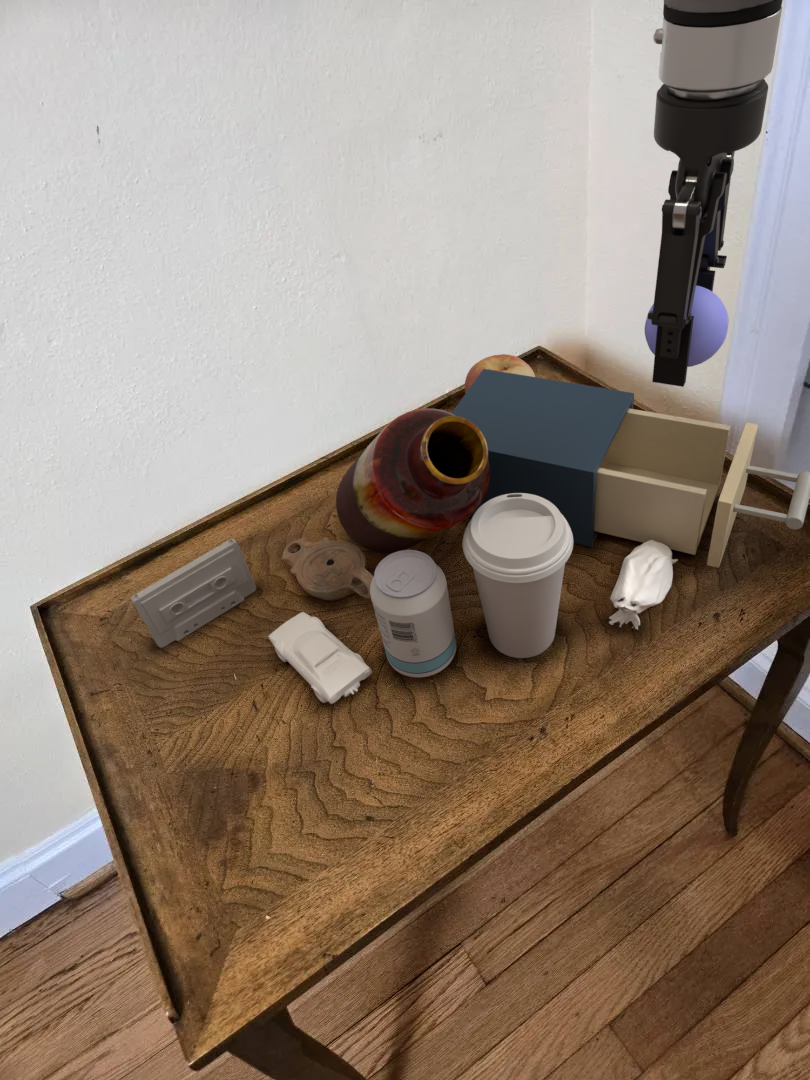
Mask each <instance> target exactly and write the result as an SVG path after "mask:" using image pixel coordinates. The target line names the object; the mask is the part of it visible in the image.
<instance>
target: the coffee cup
mask: <svg viewBox="0 0 810 1080" xmlns="http://www.w3.org/2000/svg"><path fill="white" fill-rule="evenodd" d="M462 537H463V538H462V551H463V554H464V558H465V559H466V560H467V562H468V564H469V565H470V566H471V567H472V569H473V574H474V579H475V582H476V583H475V584H476V587H477V591H478V595H479V600H480V603H481V608H482V613H483V616H484V620H485V624H486V630H487V634H488V637H489V641H490V642H491V644H492V646H493V647H494V648H495V649H496V650H497V651H498V652H499V653H501V654H504V655H505V656H507V657H510V658H514V659H528V658H533V657H536V656H538V655H541V654H542V653H544V652H545V651H546V650H548V649H549V648H550V647H551V646H552V643H553V641H554V639H555V636H556V629H557V624H558V623H557V621H558V617H559V616H558V615H559V608H560V602H561V594H562V587H563V581H564V574H565V566H566V563H567V562H568V561H569V559H570V557H571V555H572V552H573V549H574V543H573V542H574V541H573V534H572V531H571V528H570V526H569V524H568V522H567V521H566V519H565V518H564V516H563V515H562V514H561V513H560V511H559V510H558V509H557V507H556V506H555V505H554V504H552V503H551V502H550V501H548V500H546V499H544V498H542V497H539V496H536V495H533V494H527V493H511V494H505V495H501V496H498V497H495V498H493V499H491V500H489V501H487V502H486V503H484V504H483V505H482V506H480V507H479V508H478V510H477V511H476V512H475V514H474V515H473V517H472V518H471V519H470V520H469V522H468V524H467V526H466V527H465V530H464V534H463V536H462Z"/></svg>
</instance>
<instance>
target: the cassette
mask: <svg viewBox="0 0 810 1080" xmlns="http://www.w3.org/2000/svg"><path fill="white" fill-rule="evenodd" d="M240 547H241V546H240V544H239V543H238V542H237V541H236V539H235V538H230V539H228V540H226V541H224V542H223V543H221V544H220V545H218V546H215V547H214V548H211V550H209V551H206V553H204V554H202V555H200V556H199V557H197V558H195V559H193V560H192V561H190V562H188V563H187V564H185V565H182V566H181V567H180V568H178V569H176V570H174V571H172V572H171V573H169V574H168V575H166V576H164V577H162V578H161V579H159V580H157V581H155V582H153V583H152V584H150V585H149V586H147V587H145V588H143V589H142V590H140V591H138V592H137V593H135V594H133V595H131V597H130V601H131V602H132V604H133V606H134V608H135V609H136V611H137V613H138V615H139V616H140V618H141V619H142V621H143V623H144V624H145V627H146V628H147V629H148V632H149V633H150V636H151V638H152V639H153V641H154V643H155V644H156V646H157V647H159V648H160V649H162V648H165V647H167V646H168V645H170V644H171V643H173V642H174V641H177V642H179V641H180V640H183V638H185V637H187V636H188V635H191V634H192V633H194V632H195V631H196V630H198V629H200V628H201V627H203V626H205V625H206V624H208V623H210V622H212V621H213V620H214V619H216V618H218V617H219V616H221V615H223V614H225V613H226V612H228V611H229V610H230V609H232V608H235V607H236V606H237V605H239V604H241V603H242V602H244V601H245V598H246V597H249V595H251V594H253V593H254V592H256V591H257V586H256V582H255V581H254V577H253V576H252V574H251V571H250V569H249V566H248V564H247V561H246V559H245V557H244V554H243V552H242V549H241V548H240Z"/></svg>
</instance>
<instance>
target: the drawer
mask: <svg viewBox="0 0 810 1080" xmlns="http://www.w3.org/2000/svg"><path fill="white" fill-rule="evenodd" d="M758 427H759V424H758V423H752V422H745V423H744V426H743V429H742V433H741V435H740V438H739V440H738V443H737V447H736V449H735V452H734V455H733V458H732V460H731V464H730V466H729V468H728V472H727V475H726V478H725V480H724V483H723V486H722V489H721V492H720V495H719V497H718V501H717V505H716V510H715V511H716V512H715V517H714V522H713V528H712V532H711V533H712V534H711V537H710V543H709V544H710V545H709V550H708V555H707V560H706V566H708V567H709V566H710V567H713V568H717V569H720V566H721V564H722V563H721V562H722V560H723V558H724V554H725V551H726V549H727V545H728V542H729V539H730V536H731V532H732V529H733V526H734V523H735V520H736V517H737V514H738V513H739V514H743V515H748V516H752V517H756V518H757V517H758V518H761V519H762V518H763V519H766V520H771V521H776V522H781V523H785V525H786V527H787V528H789V529H791V530H800V529H801V528H803V526H804V522H805V518H806V515H807V511H808V508H809V507H808V506H809V502H810V471H807V470H805V471H804V470H803V471H801V472H799V473H798V474H796V473H792V472H787V471H782V470H775V469H770V468H765V467H760V466H755V465H751V462H752V456H753V452H754V447H755V443H756V437H757V433H758V429H759V428H758ZM730 432H731V425H729V424H722V423H718V422H712V421H706V420H700V419H693V418H688V417H683V416H676V415H670V414H664V413H658V412H651V411H648V410H647V411H646V410H640V409H636V408H635V409H634V408H633V409H630V408H629V410H628V411H627V413H626V415H625V417H624V419H623V421H622V423H621V425H620V427H619V429H618V431H617V433H616V435H615V437H614V439H613V441H612V443H611V445H610V447H609V449H608V451H607V453H606V455H605V457H604V459H603V461H602V463H601V465H600V467H599V469H598V471H597V473H596V498H595V528H594V531H597V532H599V533H601V534H606V535H610V536H613V537H618V538H621V539H622V538H623V539H626V540H631V541H634V542H639V543H642V544H643V543H645V542H647V541H650V540H654V541H656V542H660V543H662V544H664V545H666V546H668V547H669V548H670V550H671V551H672V550H673V551H677V552H681V553H686V554H689V555H693V556H695V555H696V554H697V552H698V548H699V546H700V543H701V540H702V537H703V534H704V531H705V529H706V526H707V523H708V521H709V518H710V515H711V512H712V510H713V506H714V504H715V500H716V498H717V495H718V493H719V490H720V486H721V482H722V475H723V471H724V464H725V460H726V454H727V448H728V444H729V443H728V442H729V437H730ZM749 474H750V475H756V476H761V477H765V478H771V479H777V480H781V481H787V482H792V483H795V484H794V490H793V492H792V497H791V501H790V504H789V507H788V511H787V513H782V512H777V511H773V510H768V509H763V508H758V507H754V506H748V505H745V504H741V502H742V499H743V496H744V493H745V490H746V485H747V481H748V476H749Z"/></svg>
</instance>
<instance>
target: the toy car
mask: <svg viewBox="0 0 810 1080" xmlns="http://www.w3.org/2000/svg"><path fill="white" fill-rule="evenodd" d="M268 639H269V641H270V643H271V644H272V646H273V648H274V652H275V653H276V655H277V656H278V658H279V659H280V660H281V661H282V662H283V663H287V662H288V663H289V665H290V666H292V667H293V669H295V671H296V672H297V673H298V674H299V675H300V676H301V677H302V678H303V679H304V680H305V681H306V682H307V683H308V684H309V685H310V688H311V689H312V690H313V693H314V695H315V697H316V698H317V699H318V700H319V701H320V702H321V703H323V704H325V703H329V704H330V705H333V704H335V703H336V702H337V701H338V700H340V699H341V698H342V697H343V698H347V697H349V696H350V695H355V692H356V693H357V692H359V688H360V686H361V683H360V682H361V681H364V680H366V679H367V678H368V677H369V676H370V675H372V673H373V670H372V668H371V667H370V666H369V665H368V664H366V662H365V660H364V659H363V658H362V656H361V655H360V654H359V653H355V652H353V651H352V650H351V649H350V648H349V647H347V645H346V644H345V643H343V642H342V641H341V640H340V639H339V638H338V637H336V636H335V634H333V633H332V632H331V631H330V630H328V629H327V628H326V627H325V624H324V623H323V622H322V621H321V619H320V618H318V617H317V616H311V615H310V614H308V613H307V612H304V611H301V612H299V613H298V614H296V615H294V616H293V617H291V618H290V619H287V620H286V621H285V622H284V623H282V624H281V625H280V626H278V628H276V629H274V631H272V632H271V633H270V634H268Z"/></svg>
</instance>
